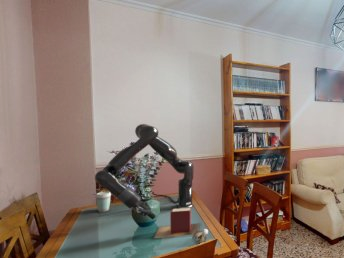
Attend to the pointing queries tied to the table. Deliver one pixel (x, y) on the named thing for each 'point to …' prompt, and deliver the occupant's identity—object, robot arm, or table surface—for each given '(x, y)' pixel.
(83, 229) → the table surface
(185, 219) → the book
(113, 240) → the table surface
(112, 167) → the robot arm
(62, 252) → the table surface
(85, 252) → the table surface
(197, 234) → the eagle figurine
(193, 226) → the mat
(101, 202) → the coffee cup
